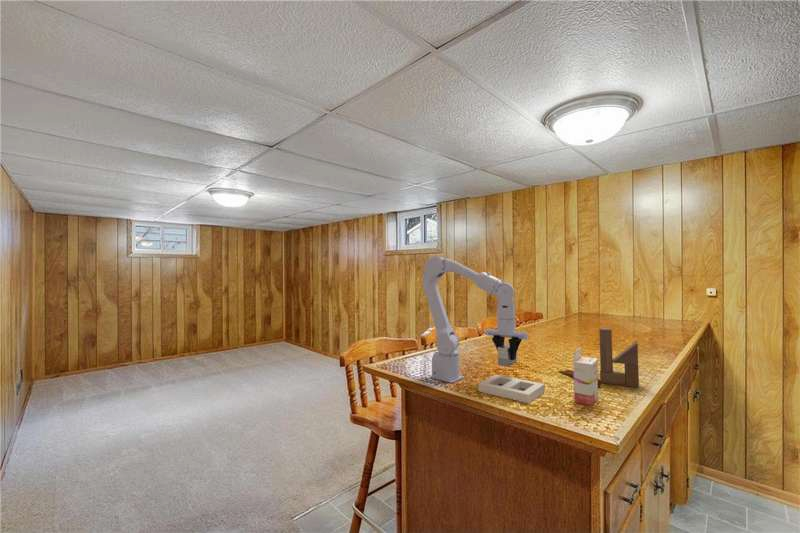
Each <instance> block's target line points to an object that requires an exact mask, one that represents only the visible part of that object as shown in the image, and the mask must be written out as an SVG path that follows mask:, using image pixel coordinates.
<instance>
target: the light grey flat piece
mask: <svg viewBox="0 0 800 533" xmlns="http://www.w3.org/2000/svg"><path fill="white" fill-rule="evenodd" d="M477 384H478V385H477V387H478V391H477V392H479V393H480V392H481V393H485V394H488V395H491V396H492V395H493V396H497V397H499V398H500V397H501V398H505V399H508V398H509V399H510V400H512V399H513V400H514V401H516V400H517V402H522V403H525V404H531V403H532V402H533V401H534V400H536V399H537V398H540V397H541V395H543V394H544V393H545V392H546V389H545V387H546V386H545V383H542V382H535V381H531V380H525V379H521V378H516V377H513V376H512V377H511V376H506V375H501V374H497V373H496V374H495V375H492V376H490V377H488V378H486V379H485V380H481V381H480V382H478V383H477ZM531 401H532V402H531Z"/></svg>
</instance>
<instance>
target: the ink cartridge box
mask: <svg viewBox="0 0 800 533" xmlns="http://www.w3.org/2000/svg"><path fill="white" fill-rule="evenodd" d="M598 360H599V359H598V358H596V357H587V356H582V346H580V347H579V348H577V349H575V350H574V352H573V366H572V367H573V371H574V378H573V395H574V396H573V398H574V399H573V400H574V403H576V404H581V405H587V406H590V407H591V406H593V405H594V404H595V403H596V401H597V400H598V399H599V388H598V379H599V374H598V372H599V371H598V370H599V367H598Z"/></svg>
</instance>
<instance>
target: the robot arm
mask: <svg viewBox="0 0 800 533" xmlns="http://www.w3.org/2000/svg"><path fill="white" fill-rule="evenodd" d="M423 268H424V270H423V275H422V279H421V280H422V281H421V285H422V287H423V291H424V294H425V297H426V300H427V303H428V307H429V310H430V313H431V316H432V320H433V323H434V326H435V328H436V329H435V330H436V331H435V334H436V336H435V337H436V341H437V342H436V349H437V351H435V352H434V353H433V355H432V357H431V375H430V378H431V379H434V380H438V381H443V382H446V383H450V384H451V383H455V382H457V381H460V380H462V379H464V378H465V376H464V375H460V356H459V355H460V354H459V351H458V347H459V345H460V339H459V336H458V335H457V334H456V333H455V331H454V328H453V327H452V325H451V324H450V320H449V317H448V314H447V311H446V307H445V306H444V303H443V299H442V295H441V292H440V291H439V290H440V289H439V287H438V282H439V281H440V279H441V277H442V276H443V275H445V273H455V274H457V275H459V276H462V277H464V278H467V279H469V280H471V281H473V282H474V284H475V286H476V287H477V288H479V289H480V290H483V291H485V292H486V293H487V294H491V295H492V296H493V295H495V296H496V298H497V304H496V315H497V317H496V318H497V329H490V328H488V329H485V336H488V337H489V336H491V340H492V342H493V344H494V346H495V348H496V351H497V352H498V347H499V346H502V345H505V338H508V344H509V345H510V357H511V360H515V358H516V353H517V352H518V349H519V347H520V344H521V343H522V341H524V340H525V341H527V340H529V339H530V334H529V332H523V331H519V330H516V312H515V311H516V309H515V300H514V299H515V298H514V295H515V287H514V286H513V285H512V284H510V283H509V282H504V279H502V278H500V279H499V278H497V277H495V276H493V275H492V273H491V272H489V271H487V272H485V271H482V272H479V273H478V272H476V271H475V270H473V269H471V268H469V267H467V266H466V265H463V264H462V263H460V262H458V261H455V260H452V259H450V258H446V257H444V256H438V255H433V256H431V257H429V258H428V259H427V261H426V262H425V263H424V265H423ZM517 354H518V353H517Z"/></svg>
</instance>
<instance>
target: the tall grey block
mask: <svg viewBox="0 0 800 533" xmlns="http://www.w3.org/2000/svg"><path fill="white" fill-rule="evenodd" d="M517 356H518V353H516V358H515V360H511V357H510V345H509V343H504V345H502V346H499V347H498V351H497V365H498V366H501V367H507V368H508V367H511V366H513V365H515V364H516V363H518V357H517Z"/></svg>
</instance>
